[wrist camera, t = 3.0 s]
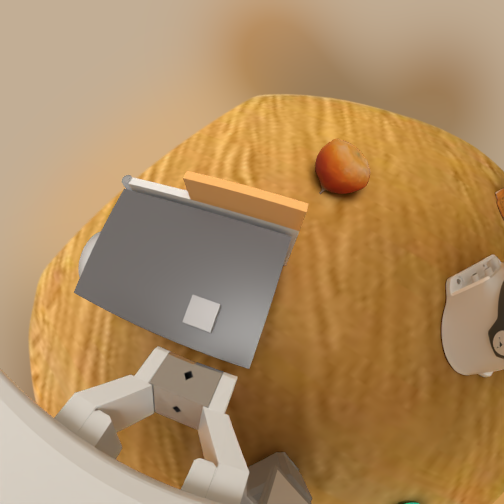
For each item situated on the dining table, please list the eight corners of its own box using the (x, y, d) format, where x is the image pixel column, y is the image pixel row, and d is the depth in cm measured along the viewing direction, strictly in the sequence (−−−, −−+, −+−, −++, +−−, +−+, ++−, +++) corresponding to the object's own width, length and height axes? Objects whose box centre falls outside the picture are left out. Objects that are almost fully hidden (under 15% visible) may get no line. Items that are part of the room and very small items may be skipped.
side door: (287, 258, 34) (309, 201, 21) (285, 267, 33) (305, 214, 21) (151, 216, 36) (113, 154, 23) (148, 224, 35) (107, 163, 23)
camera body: (280, 269, 34) (292, 232, 24) (249, 363, 30) (249, 369, 20) (137, 224, 36) (104, 180, 26) (102, 303, 32) (54, 281, 22)
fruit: (293, 158, 38) (329, 123, 32) (328, 169, 43) (362, 141, 37) (310, 204, 36) (353, 170, 30) (346, 211, 40) (385, 183, 34)
